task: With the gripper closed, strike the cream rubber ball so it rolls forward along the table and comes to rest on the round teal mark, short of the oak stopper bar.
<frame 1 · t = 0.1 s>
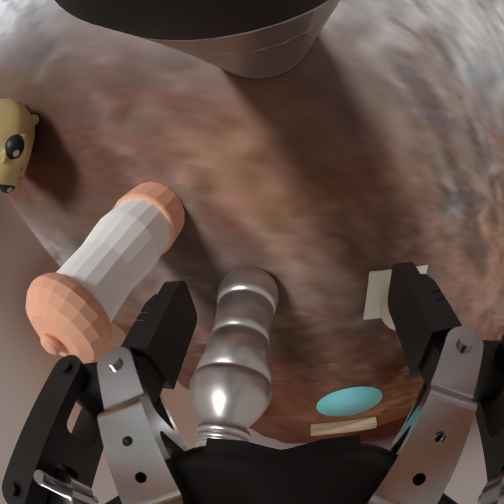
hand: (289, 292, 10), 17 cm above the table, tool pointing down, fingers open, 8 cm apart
stopper bar: (343, 422, 53), on the table
ball: (401, 308, 29), on the table
yellow plush toy: (31, 131, 24), on the table
pepper shaker: (155, 212, 29), on the table
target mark: (349, 402, 47), on the table
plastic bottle: (250, 280, 32), on the table
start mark: (394, 293, 31), on the table
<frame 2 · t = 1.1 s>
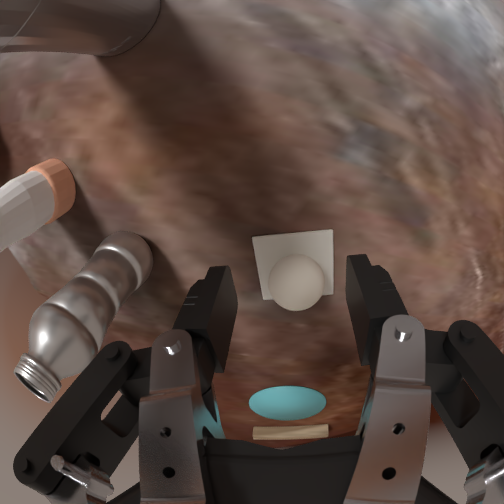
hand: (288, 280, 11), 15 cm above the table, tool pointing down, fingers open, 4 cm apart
stopper bar: (290, 428, 49), on the table
ball: (296, 282, 26), on the table
pepper shaker: (57, 185, 27), on the table
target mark: (287, 404, 44), on the table
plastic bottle: (134, 248, 30), on the table
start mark: (295, 266, 29), on the table
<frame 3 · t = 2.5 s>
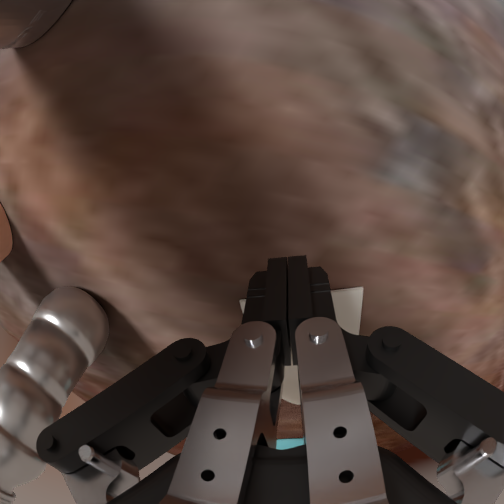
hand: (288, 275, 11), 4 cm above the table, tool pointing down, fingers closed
ball: (306, 365, 17), on the table
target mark: (292, 451, 34), on the table
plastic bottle: (86, 304, 20), on the table
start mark: (305, 335, 19), on the table
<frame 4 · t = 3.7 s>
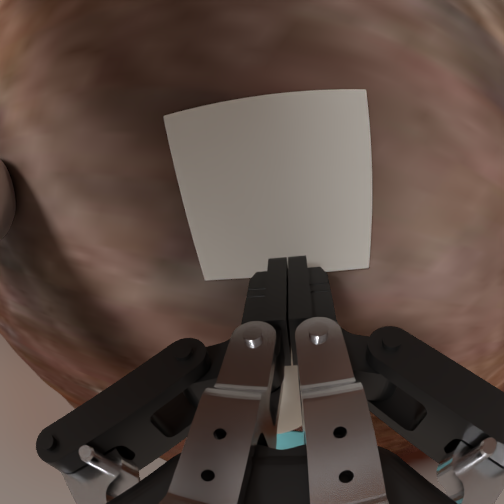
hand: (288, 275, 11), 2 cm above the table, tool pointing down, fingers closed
ball: (273, 386, 14), on the table
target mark: (274, 449, 26), on the table
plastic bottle: (3, 187, 12), on the table
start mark: (276, 191, 11), on the table
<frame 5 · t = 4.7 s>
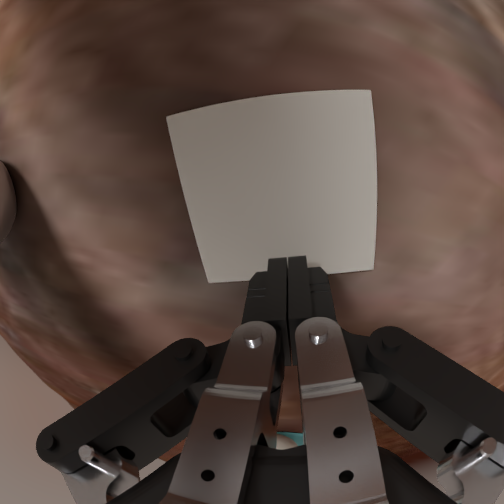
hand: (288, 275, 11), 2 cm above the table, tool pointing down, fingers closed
ball: (273, 458, 21), on the table
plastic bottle: (3, 188, 12), on the table
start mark: (281, 193, 11), on the table
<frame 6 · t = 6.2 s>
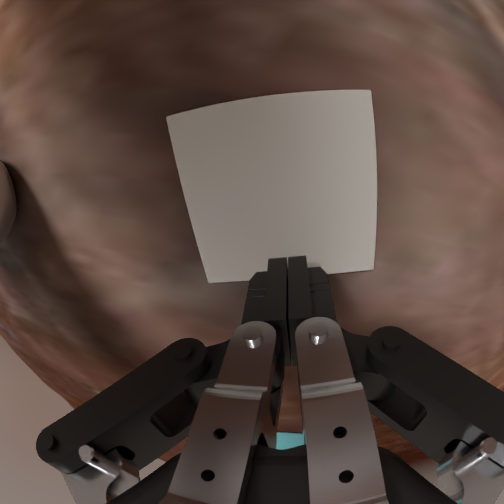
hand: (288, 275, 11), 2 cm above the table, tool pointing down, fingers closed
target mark: (277, 451, 26), on the table
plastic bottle: (3, 188, 12), on the table
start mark: (281, 193, 11), on the table
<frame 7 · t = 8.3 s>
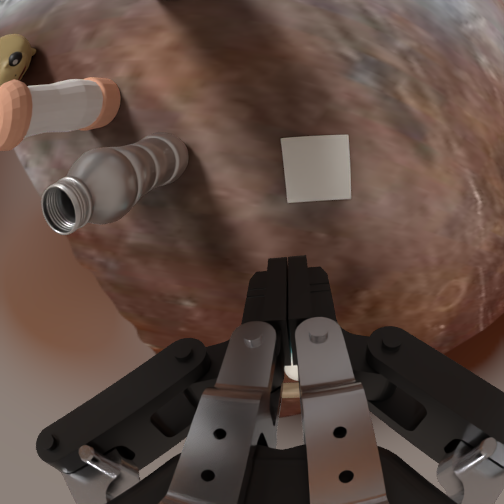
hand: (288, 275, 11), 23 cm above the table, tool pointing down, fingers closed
stopper bar: (302, 384, 51), on the table
ball: (299, 365, 43), on the table
yellow plush toy: (28, 63, 24), on the table
pepper shaker: (100, 102, 29), on the table
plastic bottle: (168, 155, 32), on the table
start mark: (317, 168, 31), on the table
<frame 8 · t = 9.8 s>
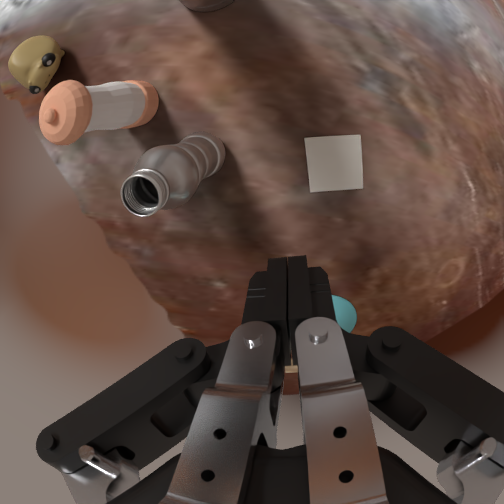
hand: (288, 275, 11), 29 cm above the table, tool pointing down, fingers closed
stopper bar: (320, 359, 57), on the table
yellow plush toy: (56, 63, 29), on the table
pepper shaker: (138, 103, 34), on the table
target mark: (321, 322, 51), on the table
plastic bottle: (205, 151, 37), on the table
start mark: (335, 163, 36), on the table
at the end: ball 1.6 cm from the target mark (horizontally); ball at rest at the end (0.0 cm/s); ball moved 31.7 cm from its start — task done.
